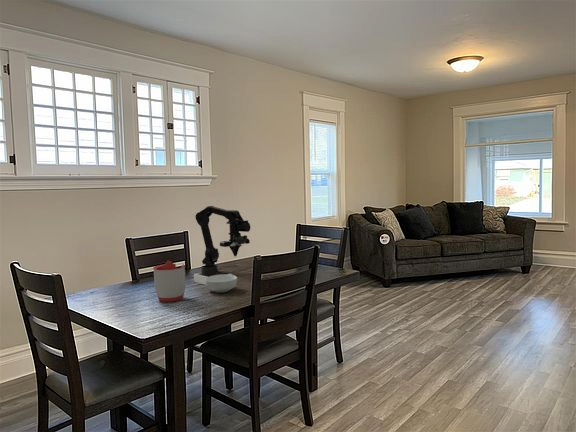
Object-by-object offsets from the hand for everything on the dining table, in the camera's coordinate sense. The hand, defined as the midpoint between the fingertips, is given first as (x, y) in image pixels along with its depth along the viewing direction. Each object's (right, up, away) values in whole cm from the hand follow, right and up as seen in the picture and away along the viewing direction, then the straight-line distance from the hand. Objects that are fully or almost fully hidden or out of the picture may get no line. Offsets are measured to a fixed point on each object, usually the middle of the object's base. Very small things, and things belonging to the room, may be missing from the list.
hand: (235, 256), depth 278 cm
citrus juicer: (-26, -17, -49) cm, 58 cm away
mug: (-12, -14, -13) cm, 23 cm away
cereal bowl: (-3, -16, -35) cm, 39 cm away
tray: (-11, -13, -13) cm, 21 cm away
